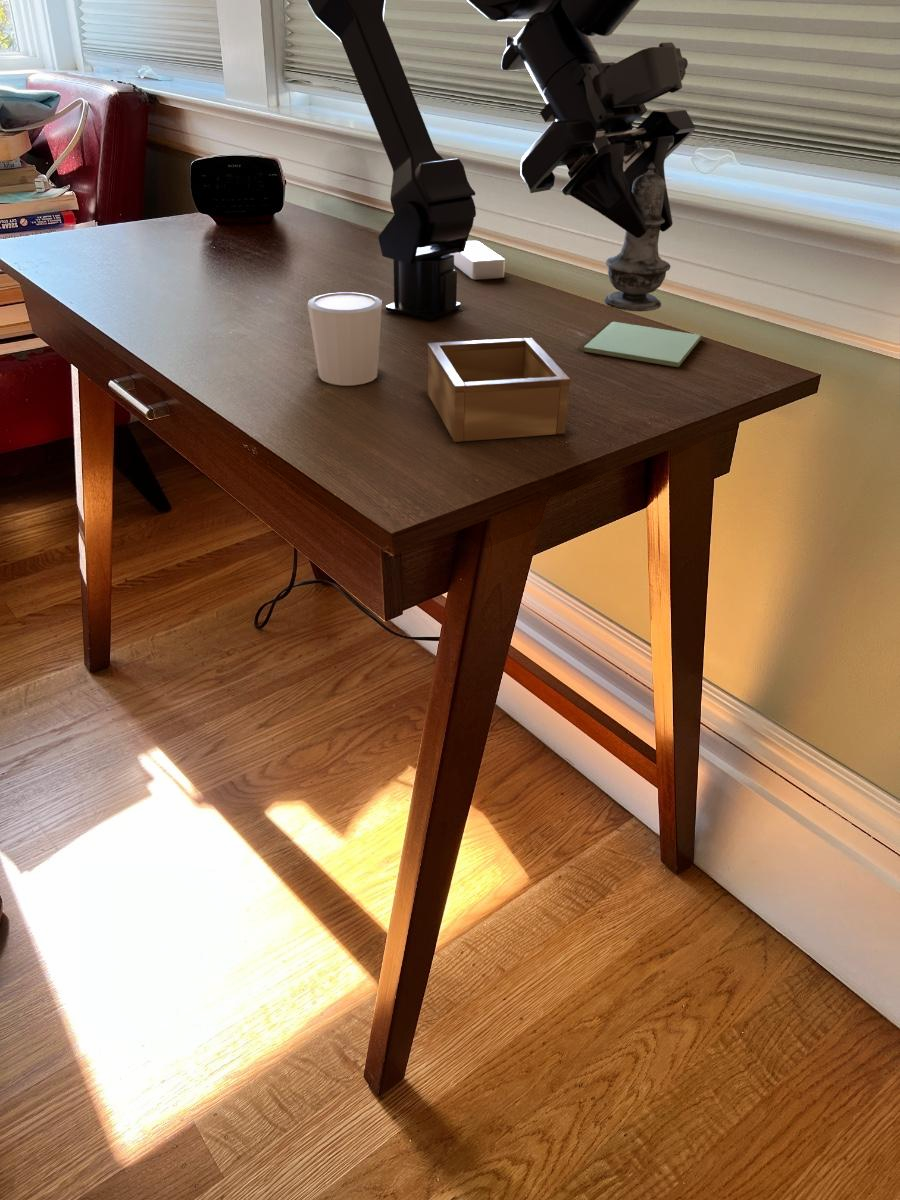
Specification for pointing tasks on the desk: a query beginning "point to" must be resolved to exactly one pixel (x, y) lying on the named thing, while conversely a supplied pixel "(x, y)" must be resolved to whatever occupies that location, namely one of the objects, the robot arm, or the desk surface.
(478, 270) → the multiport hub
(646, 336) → the mat
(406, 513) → the desk surface
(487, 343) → the open wooden box
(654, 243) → the salt shaker
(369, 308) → the white tapered cup
